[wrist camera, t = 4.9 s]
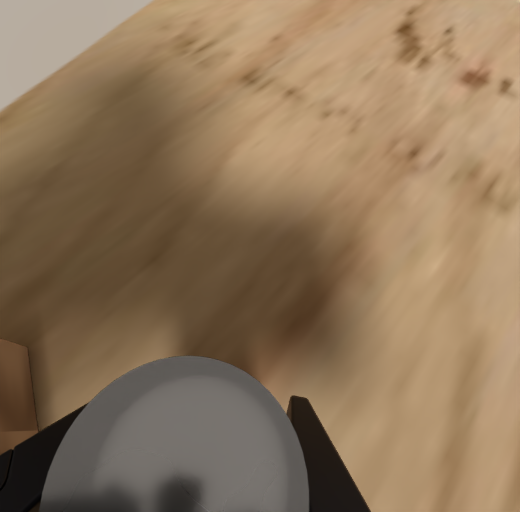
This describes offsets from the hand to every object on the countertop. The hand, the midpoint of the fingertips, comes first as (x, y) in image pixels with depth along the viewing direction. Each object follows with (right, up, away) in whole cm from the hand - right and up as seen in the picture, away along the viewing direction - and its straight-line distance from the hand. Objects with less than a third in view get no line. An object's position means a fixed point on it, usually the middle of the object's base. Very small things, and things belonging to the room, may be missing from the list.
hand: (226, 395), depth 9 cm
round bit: (0, -4, +5) cm, 7 cm away
